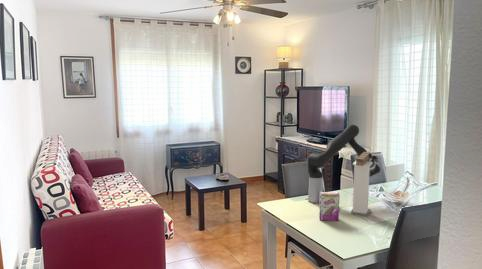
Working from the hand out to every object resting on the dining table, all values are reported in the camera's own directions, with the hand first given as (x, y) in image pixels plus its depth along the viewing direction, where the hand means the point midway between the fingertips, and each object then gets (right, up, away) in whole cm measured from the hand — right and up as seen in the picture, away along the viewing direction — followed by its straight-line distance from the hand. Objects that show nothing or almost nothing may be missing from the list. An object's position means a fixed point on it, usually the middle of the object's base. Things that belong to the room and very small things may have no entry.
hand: (365, 154), depth 231 cm
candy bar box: (-27, -38, -14) cm, 49 cm away
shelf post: (-4, -36, -3) cm, 37 cm away
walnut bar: (-3, -4, -6) cm, 8 cm away
